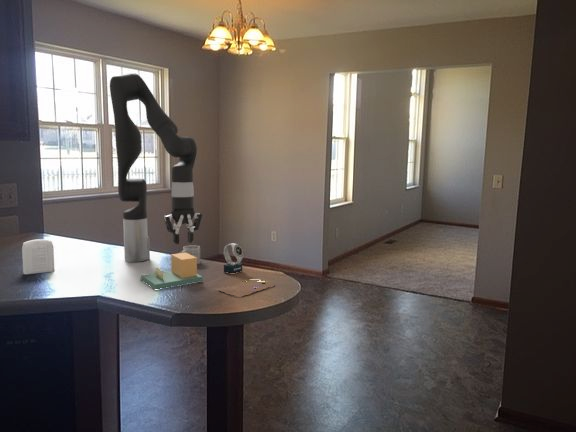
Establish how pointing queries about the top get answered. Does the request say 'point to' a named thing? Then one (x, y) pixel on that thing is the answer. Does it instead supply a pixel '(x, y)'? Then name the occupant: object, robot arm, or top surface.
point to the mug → (192, 251)
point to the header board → (167, 279)
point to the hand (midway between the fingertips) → (183, 243)
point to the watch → (238, 253)
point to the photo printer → (38, 256)
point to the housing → (184, 265)
